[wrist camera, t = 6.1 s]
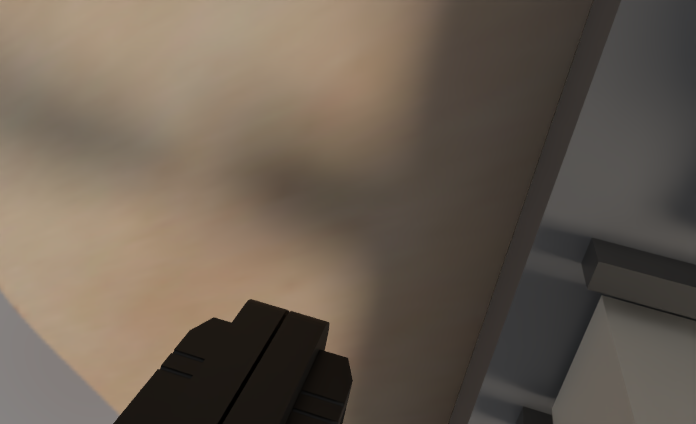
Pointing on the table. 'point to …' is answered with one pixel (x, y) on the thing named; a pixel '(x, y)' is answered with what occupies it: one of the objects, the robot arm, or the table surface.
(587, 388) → the slide switch
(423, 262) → the table surface
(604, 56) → the switch panel
